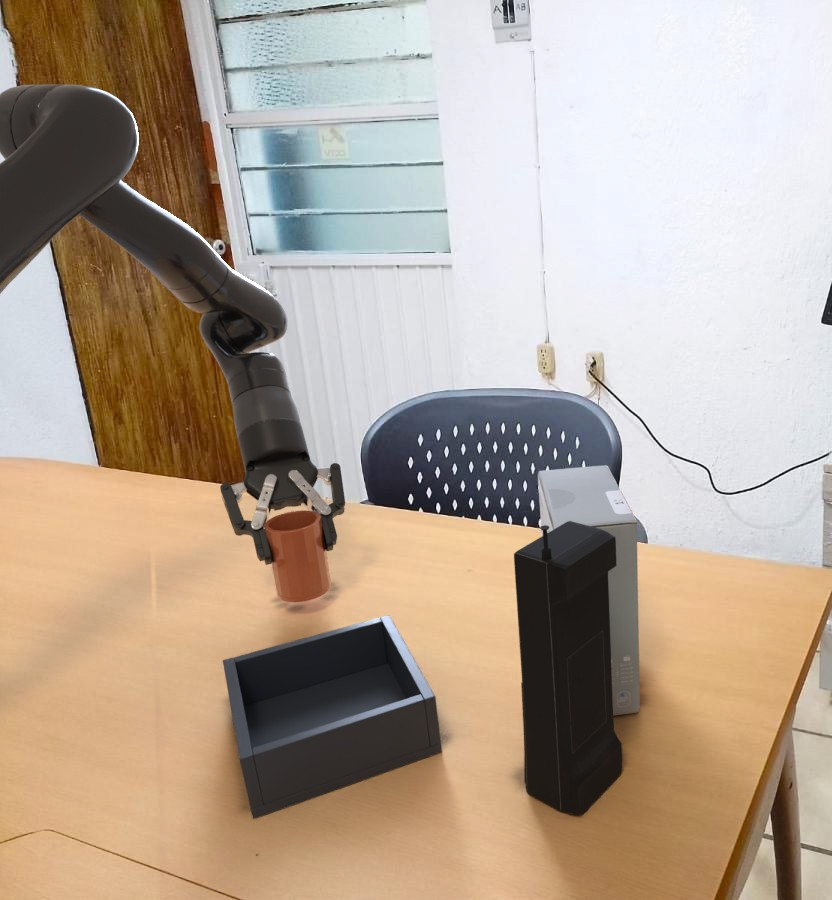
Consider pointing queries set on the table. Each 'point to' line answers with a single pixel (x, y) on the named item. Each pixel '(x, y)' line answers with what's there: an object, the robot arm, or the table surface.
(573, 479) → the hard drive box
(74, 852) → the table surface
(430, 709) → the open box
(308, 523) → the pot
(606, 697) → the portable radio
